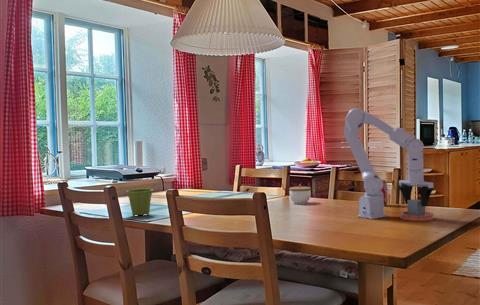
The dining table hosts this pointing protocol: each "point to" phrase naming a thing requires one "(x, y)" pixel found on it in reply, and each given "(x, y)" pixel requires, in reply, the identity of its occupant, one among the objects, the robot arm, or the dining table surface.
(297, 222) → the dining table surface
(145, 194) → the plant pot
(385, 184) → the soda can
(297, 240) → the dining table surface
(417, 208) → the slate block
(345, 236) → the dining table surface
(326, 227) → the dining table surface
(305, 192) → the lidded jar
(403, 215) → the terracotta dish
